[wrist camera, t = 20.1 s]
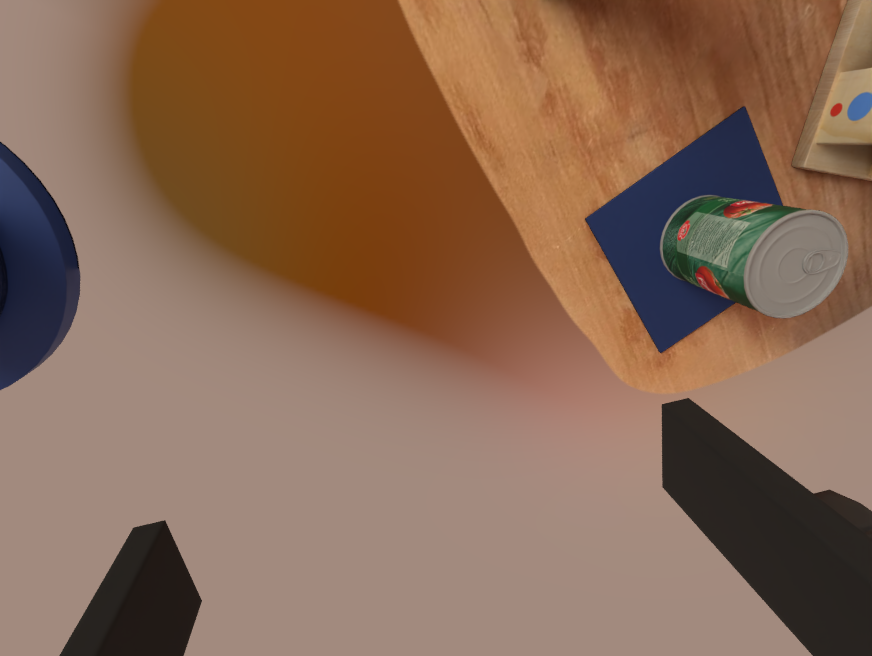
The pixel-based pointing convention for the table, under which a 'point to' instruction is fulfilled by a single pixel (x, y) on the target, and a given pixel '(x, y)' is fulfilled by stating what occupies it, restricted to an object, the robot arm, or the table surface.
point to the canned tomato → (756, 253)
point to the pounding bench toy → (843, 102)
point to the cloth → (653, 206)
